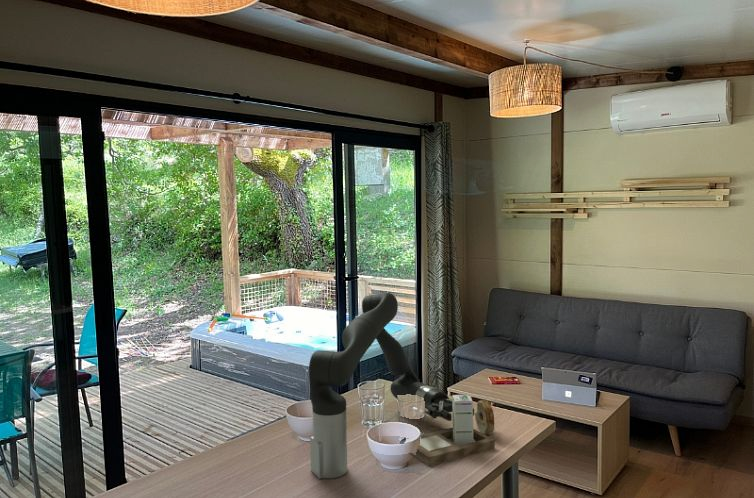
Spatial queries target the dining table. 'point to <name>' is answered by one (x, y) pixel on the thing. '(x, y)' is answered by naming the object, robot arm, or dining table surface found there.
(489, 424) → the bagel
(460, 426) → the syrup box
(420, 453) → the dock board
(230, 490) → the dining table surface
